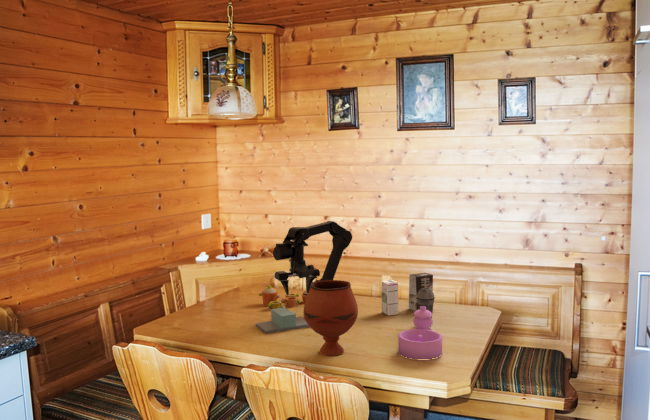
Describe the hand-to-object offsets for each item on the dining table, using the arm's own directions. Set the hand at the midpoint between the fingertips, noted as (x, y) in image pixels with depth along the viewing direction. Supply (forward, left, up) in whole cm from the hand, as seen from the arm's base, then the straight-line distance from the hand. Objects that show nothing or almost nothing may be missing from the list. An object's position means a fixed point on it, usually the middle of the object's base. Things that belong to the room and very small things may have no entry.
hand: (297, 294), depth 242 cm
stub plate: (+8, +3, -12) cm, 15 cm away
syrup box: (-41, +8, -12) cm, 44 cm away
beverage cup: (-44, +30, -12) cm, 55 cm away
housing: (+8, +3, -11) cm, 14 cm away
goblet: (+5, +40, -12) cm, 42 cm away
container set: (-26, +52, -12) cm, 59 cm away
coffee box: (-57, +9, -12) cm, 59 cm away
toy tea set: (-7, -29, -13) cm, 32 cm away
